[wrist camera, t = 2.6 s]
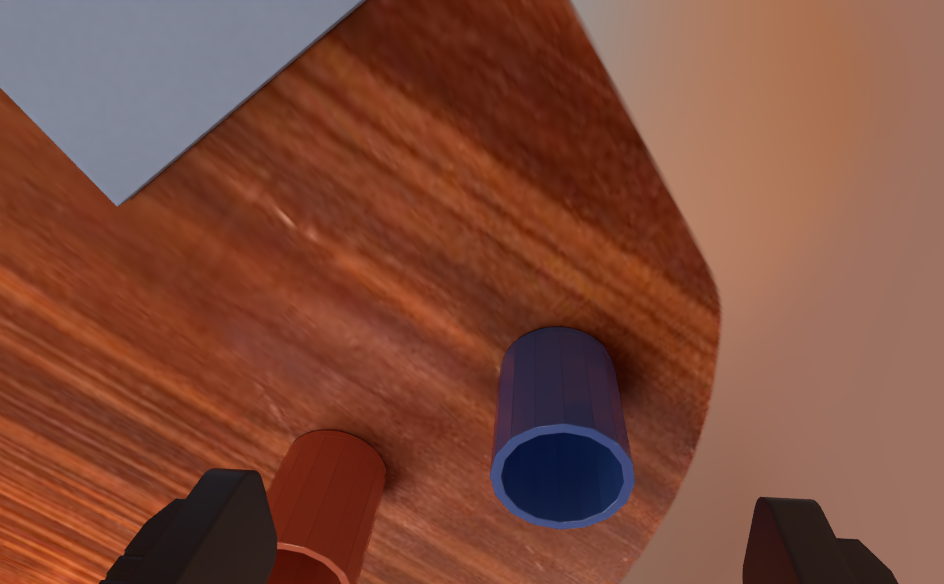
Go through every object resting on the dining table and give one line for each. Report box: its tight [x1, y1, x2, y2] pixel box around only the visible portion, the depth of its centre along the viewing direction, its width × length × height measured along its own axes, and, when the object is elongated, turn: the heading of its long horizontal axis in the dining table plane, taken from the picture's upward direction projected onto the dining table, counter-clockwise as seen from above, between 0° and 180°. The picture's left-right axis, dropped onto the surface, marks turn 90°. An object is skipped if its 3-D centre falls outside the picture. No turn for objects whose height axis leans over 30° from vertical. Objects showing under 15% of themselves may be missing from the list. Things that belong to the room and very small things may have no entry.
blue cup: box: [490, 327, 635, 529], centre depth 31 cm, size 6×6×8 cm
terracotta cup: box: [266, 430, 386, 584], centre depth 36 cm, size 7×7×8 cm
